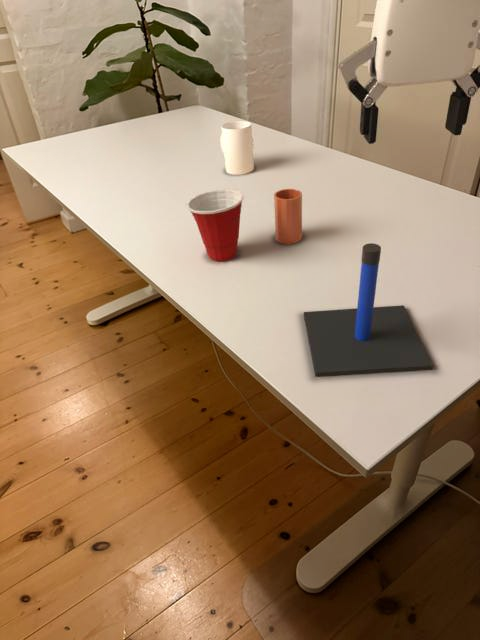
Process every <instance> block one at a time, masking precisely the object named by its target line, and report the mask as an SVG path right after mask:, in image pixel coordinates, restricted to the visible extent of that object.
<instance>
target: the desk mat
mask: <svg viewBox="0 0 480 640" xmlns="http://www.w3.org/2000/svg"><path fill="white" fill-rule="evenodd" d="M356 316H357V308H345V309H343V308H342V309H330V310H329V309H328V310H314V311H303V319H304V326H305V330H306V335H307V341H308V345H309V351H310V356H311V362H312V367H313V372H314V376H315V377H330V376H345V375H362V374H363V375H364V374H378V373H379V374H380V373H396V372H411V371H429V370H433V367H434V365H433V363H432V360H431V359H430V356H429V355H428V352H427V350H426V348H425V346H424V344H423V342H422V340H421V338H420V336H419V334H418V332H417V330H416V328H415V326H414V324H413V322H412V319H411V318H410V316H409V314H408V311H407V309H406V308H405V305H389V306H388V305H387V306H374V307H373V316H372V324H371V332H370V338H369V340H367V341H359V340H357V339H356V338H355V327H356Z"/></svg>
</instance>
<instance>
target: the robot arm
mask: <svg viewBox="0 0 480 640" xmlns="http://www.w3.org/2000/svg"><path fill="white" fill-rule="evenodd" d="M479 30H480V0H376V5H375V11H374V16H373V23H372V31H371V36H370V42H368V43H367V44H365V45H364V46H363V47H360V48H359V49H357V51H355V52H353V53H352V54H350V55H349V56H347V57H346V58H344V59H343V60H341V61H340V62H339V63H338V66H337V67H338V70H339V73H340V75H341V78H342V79H343V81H344V84H345V86H346V88H347V89H348V91H349V92H350V93H351V94H352V95H353V96H354V97H355V98H356V99H357V100H358V101H359V102H360V118H359V133H360V135H361V136H363V138H364V139H365V140H366V142H367V143H368V144H369V145H372V144H373V145H374V143H376V142H377V133H378V120H379V107H378V106H377V105H376V103H377V101H378V99H380V98H381V96H382V95H383V93H384V92H385V91H386V90H387V88H388V87H389V88H390V87H403V86H405V87H406V86H414V85H425V84H432V83H443V82H452V84H453V85H454V87H455V91H452V92H451V94H450V96H449V101H448V107H447V113H446V119H445V123H444V125H445V126H444V127H445V129H446V130H447V131H448V132H449V133H451V134H452V135H454V136H460V135H462V131H463V126H464V125H466V124H467V121H468V116H469V111H470V107H471V101H472V98H473V97H475V96H476V95H477V94H478V91H479V89H480V64H479V65H478V66H477V67H476V68H475V69H473V70H472V68H473V65H474V61H475V56H476V50H478V51H480V32H479ZM367 62H368V66H367V69H368V70H367V71H368V75H369V77H371V78H370V79H369V80H368V81H367V83H366V84H365V85H364V86H363V85H362V84H361V83H360V81H359V79H358V77H357V74H356V71H357V69H358V68H360V67H361V66H363V65H364V64H366V63H367ZM471 70H472V72H471ZM470 72H471V73H470Z"/></svg>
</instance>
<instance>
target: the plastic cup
mask: <svg viewBox="0 0 480 640" xmlns="http://www.w3.org/2000/svg"><path fill="white" fill-rule="evenodd" d="M244 198H245V197H244V194H243V192H242V191H240V190H237V189H231V188H219V189H213V190H209V191H208V190H207V191H205V192H202V193H199V194H196V195H195V196H194V197H192V198H190V199H189V200H188V201H187V203H186V208H187V210H188V211H189V212H190V213H191V215H192V217H193V219H194V221H195V223H196V225H197V229H198V231H199V234H200V237H201V240H202V243H203V245H204V247H205V251H206V254H207V256H208V258H209V259H210V260H211V261H214V262H227V261H230V260H232V259H234V258H235V257H236V256H237V252H238V246H239V245H238V244H239V237H240V224H241V213H242V206H243V205H242V204H243V200H244Z"/></svg>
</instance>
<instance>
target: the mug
mask: <svg viewBox="0 0 480 640" xmlns="http://www.w3.org/2000/svg"><path fill="white" fill-rule="evenodd" d="M252 129H253V127H252V123H251V122H250V121H245V120H237V121H236V120H235V121H230V122H229V121H228V122H225V123H223V124H222V125H221V135H220V140H219V141H220V142H219V143H220V149H221V151H222V154H223V155H224V156H223V157H224V163H225V164H224V167H225V172H226V173H227V174H229V175H235V176H240V175H246V174H249V173H251V172H253V171H254V169H255V163H254V162H255V161H254V143H253V142H254V138H253V130H252Z"/></svg>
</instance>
